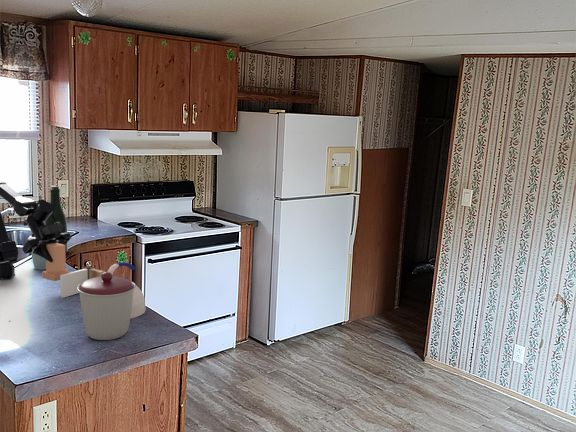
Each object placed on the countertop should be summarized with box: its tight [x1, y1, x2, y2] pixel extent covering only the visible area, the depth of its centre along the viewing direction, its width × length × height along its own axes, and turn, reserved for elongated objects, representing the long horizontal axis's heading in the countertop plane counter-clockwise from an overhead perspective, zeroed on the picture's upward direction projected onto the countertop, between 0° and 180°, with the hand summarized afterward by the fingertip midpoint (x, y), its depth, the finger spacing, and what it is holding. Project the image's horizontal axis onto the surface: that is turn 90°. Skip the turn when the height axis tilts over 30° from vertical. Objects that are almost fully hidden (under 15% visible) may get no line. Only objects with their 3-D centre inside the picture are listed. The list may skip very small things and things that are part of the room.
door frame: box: [85, 264, 105, 279], centre depth 232 cm, size 22×2×10 cm, turn 61°
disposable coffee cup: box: [27, 235, 46, 270], centre depth 256 cm, size 11×11×15 cm
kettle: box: [107, 261, 147, 320], centre depth 209 cm, size 20×21×18 cm
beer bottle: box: [44, 185, 69, 254], centre depth 279 cm, size 10×10×33 cm
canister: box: [77, 271, 137, 341], centre depth 187 cm, size 18×18×21 cm
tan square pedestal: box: [41, 243, 71, 282], centre depth 223 cm, size 7×7×13 cm
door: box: [59, 268, 88, 298], centre depth 224 cm, size 12×3×9 cm, turn 151°
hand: (58, 260), depth 222 cm, fingers closed on tan square pedestal, 5 cm apart
